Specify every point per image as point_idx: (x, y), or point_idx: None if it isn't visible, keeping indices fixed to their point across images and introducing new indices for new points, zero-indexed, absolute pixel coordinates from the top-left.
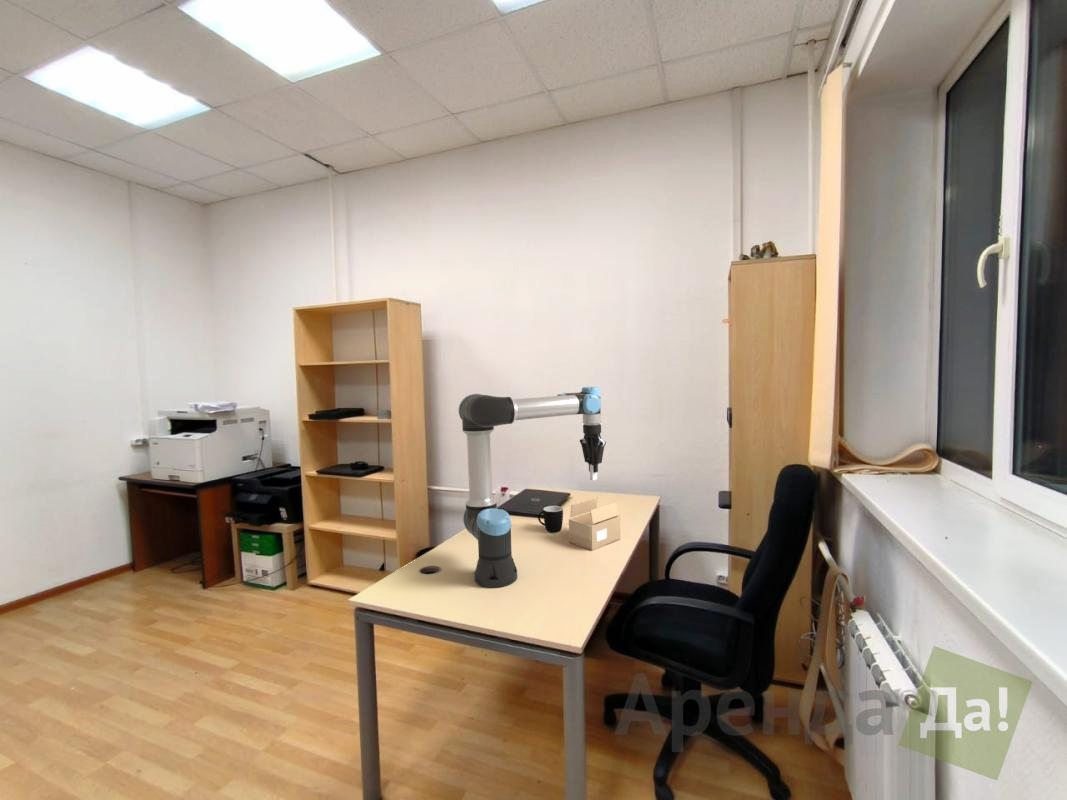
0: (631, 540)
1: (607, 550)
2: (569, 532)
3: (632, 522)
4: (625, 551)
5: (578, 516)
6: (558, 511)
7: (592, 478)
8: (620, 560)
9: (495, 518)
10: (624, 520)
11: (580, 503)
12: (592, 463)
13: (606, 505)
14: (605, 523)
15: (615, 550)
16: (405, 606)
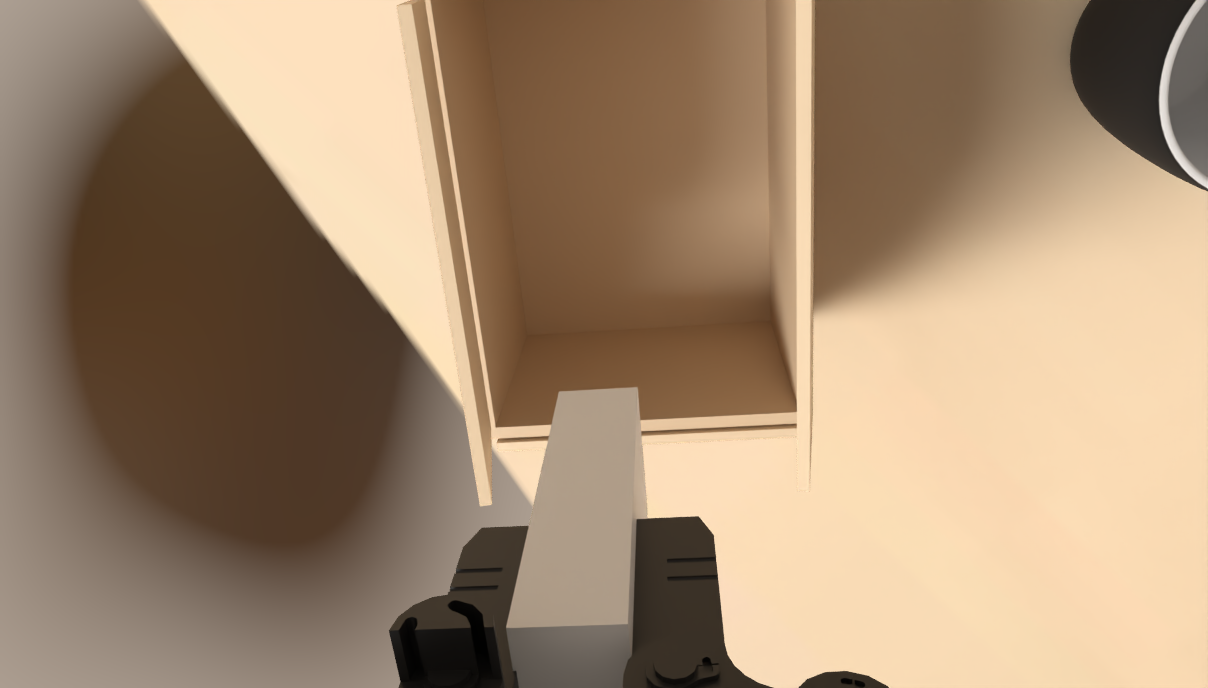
0: (452, 389)
1: (399, 85)
2: None
3: (735, 662)
4: (298, 186)
5: None
6: (1163, 56)
7: (563, 412)
8: (165, 10)
9: None
10: (813, 656)
11: (796, 161)
12: (501, 678)
13: (452, 333)
14: None
15: (360, 139)
16: None
